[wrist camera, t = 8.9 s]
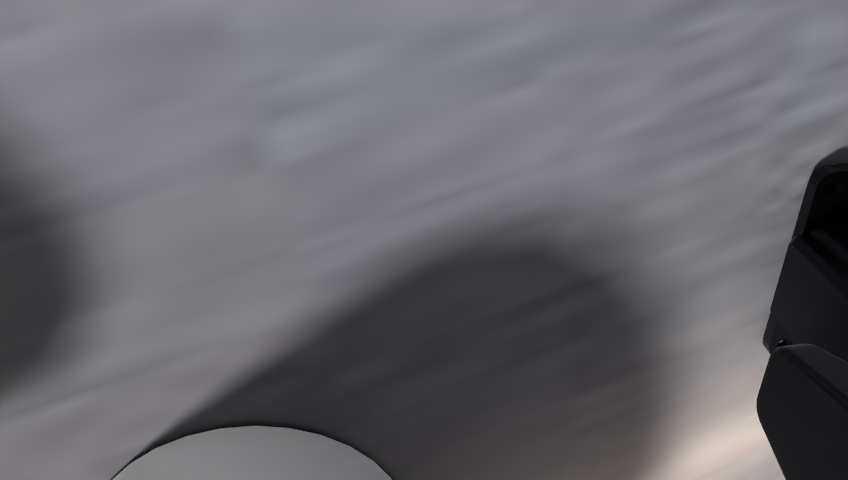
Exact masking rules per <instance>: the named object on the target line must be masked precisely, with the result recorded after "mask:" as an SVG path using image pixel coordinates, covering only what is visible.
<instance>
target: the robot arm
mask: <svg viewBox="0 0 848 480" xmlns="http://www.w3.org/2000/svg"><path fill="white" fill-rule="evenodd" d="M831 180H834V181H833V183H832V184H831V185H830V186H829V187H828V188H825V186H826V184H827V183H828V182H830V181H831ZM824 188H825V189H824ZM770 310H771V313H770V316H769V320H768V323H767V327H766V330H765V334H764V337H763V345H764V347H765V348H766V349H767V351H768V352H769V353H770V358H769V361H768V364H767V367H766V371H765V374H764V377H763V380H762V384H761V387H760V390H759V393H758V397H757V413H758V417H759V420H760V423H761V425H762V427H763V429H764V432H765V434H766V436H767V438H768V441H769V443H770V445H771V447H772V450H773V452H774V454H775V457H776V459H777V461H778V463H779V466H780V468H781V470H782V472H783V475H784V477H785V479H786V480H848V164H836V165H827V166H823V167H821V168H820V169H818V170H816V171H815V172H814V173H813V174H812V176H811V177H810V179H809V181H808V184H807V188H806V191H805V195H804V198H803V202H802V205H801V209H800V212H799V216H798V219H797V223H796V226H795V230H794V233H793V236H792V240H791V242H790V244H789V246H788V250H787V253H786V257H785V260H784V263H783V267H782V270H781V274H780V277H779V281H778V284H777V288H776V291H775V295H774V298H773V302H772V305H771V309H770ZM782 340H783V341H782ZM780 341H782V342H781V343H779V342H780Z"/></svg>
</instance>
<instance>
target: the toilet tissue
mask: <svg viewBox="0 0 848 480" xmlns="http://www.w3.org/2000/svg"><path fill="white" fill-rule="evenodd" d="M113 480H392V479H391V478H390V477H389V476H388V475H387V474H386V473H385V472H384V471H383V470H382V469H381V468H380V467H379V466H378V465H377V464H376V463H375V462H374V461H373V460H371V459H370V458H368V457H366V456H365V455H363V454H362V453H360V452H358V451H357V450H355V449H354V448H352V447H350V446H348V445H346V444H343V443H341V442H338V441H336V440H333V439H331V438H328V437H325V436H323V435H320V434H315V433H310V432H306V431H301V430H296V429H292V428H282V427H267V426H245V427H232V428H220V429H215V430H211V431H206V432H202V433H198V434H193V435H189V436H185V437H183V438H180V439H178V440H175V441H172V442H170V443H167V444H165V445H162V446H160V447H157V448H155V449H153V450H152V451H150V452H148V453H147V454H145V455H143V456H142V457H140V458H139V459H137V460H135V461H134V462H132V463H130V464H129V465H128V466H127V467H126V468H125V469H123V470H122V471H121V472H120V473H119V474H118V475H117V476H116V477H115V478H114V479H113Z"/></svg>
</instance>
